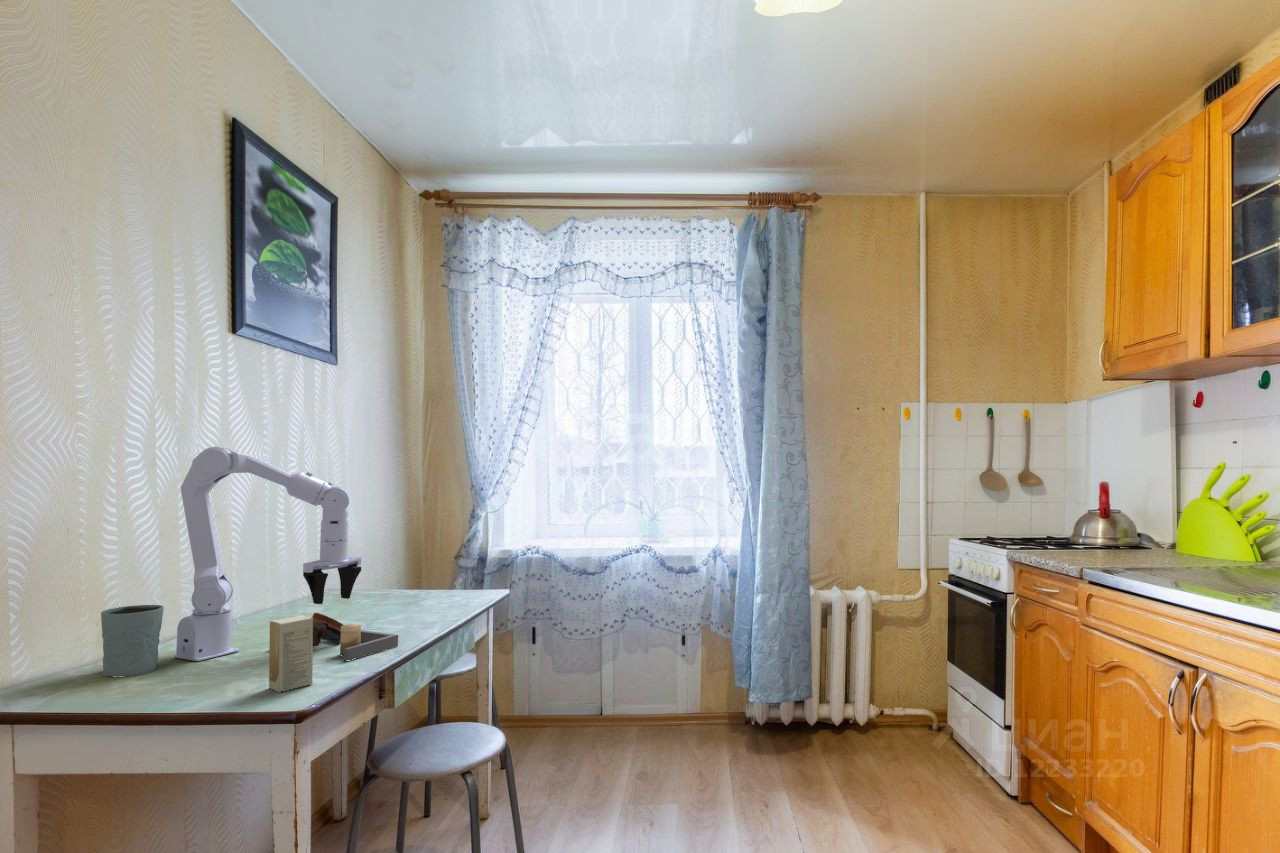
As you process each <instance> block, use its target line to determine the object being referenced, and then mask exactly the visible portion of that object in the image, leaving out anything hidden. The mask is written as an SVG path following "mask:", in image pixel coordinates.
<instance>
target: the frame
mask: <svg viewBox="0 0 1280 853" xmlns="http://www.w3.org/2000/svg"><path fill="white" fill-rule="evenodd" d="M330 638H332V639H331V640H337V639H339V635H337V634H334V633H332V631H328V630H326V632H325V633H324V635H323V637H322V638H321V640H323V639H330ZM361 642H364V643H361V644H359V645H355V646H352V647H348V648H345V649H344V657H343V661H344V660H352V659H354V658H358V657H361V656H364V655H368V654H371V653H374V654H376V653H375V652H378V653H380V652H379V651H381V652H384V651H387V650H390V649H389V648H391V649H393V648H392V647H394V648H396V646H397V647H399V634H393V633H386V632H381V631H380V632H377V631H372V630H371V631H370V630H364V629H363V630H362V629H361ZM386 649H387V650H386ZM383 650H384V651H383ZM371 655H372V654H371ZM368 656H369V655H368ZM361 658H362V657H361ZM358 659H359V658H358ZM352 661H353V660H352Z"/></svg>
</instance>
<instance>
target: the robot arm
mask: <svg viewBox="0 0 1280 853" xmlns="http://www.w3.org/2000/svg"><path fill="white" fill-rule="evenodd" d="M239 473H240V474H248V473H249V474H252V475H255V476H257V477H259V478H262V479H264V480H267V481H269V482H272V483H275V484H278V485H280V486H283V487H285V490H286V491H287V494H288V495H289V496H291V497H293V498H296V499H298V500H301V501H302V502H305V503H308V504H310V505H313V506H314V507H317V506H320V507H321V509H322V517H321V518H322V519H321V521H320V538H319V540H320V541H319V559H318V560H313V561H309V562H304V563H302V572H303V573H302V575H303V576H302V577H303V578H304V580H305V581H306V583H307V585H308V588H309V590H310V593H311V594H310V595H311V598H312V601H313V604H314V605H322V604H323V602H324V597H325V587H326V582H327V579H328V576H329V573H328V572H327V573H326V572H324V571H326V570H333V569H337V571H338V575H339V582H340V583H339V584H340V597H341V599H346V600H349V599H351V595H352V591H353V588H354V585H355V582H356V580H357V578H358V576H359V575H360V573H361V572H362V566H361V565H362V556H348V542H349V540H348V539H349V519H348V517H349V511H348V507H349V504H350V497H349V494H348V492H347V491H346V490H345V489H343V488H342V487H341V486H333V485H334V483H333V482H332V481H328V482H326V481H325V480H322V479H320V478H317V477H315V476H313V475H314V473H312V472H310V471H306V473H305V472H303V471H298V472H297V473H291V472H289V471H287V470H284V469H281V468H280V467H277V466H275V465H273V464H270V463H269V462H266V461H264V460H262V459H260V458H258V457H256V456H253V455H250V454H247V453H244V452H239V451H234V450H231V449H229V448H227V447H226V448H225V447H221V446H220V447H219V446H210V447H207V448H205V449H204V450H202V451H201V452H200V453H199V454H198V455H197V456H196V457H194V459H192V462H191V465H190V467H189V470H188V472H187V474H186V475H185V477H184V479H183V482H182V484H181V485H180V493H181V499H182V505H183V510H184V515H185V516H184V517H185V522H186V526H187V527H186V528H187V533H188V538H189V543H190V544H189V545H190V549H191V554H192V561H193V566H194V575H193V585H194V588H193V592H192V595H191V601H190V602H191V604H192V606H193V607H194V608H193V610H192V613H191V614H190V615H189V616H185V617H183V618H181V619H180V620H179V622H178V625H177V628H176V629H177V630H176V650H175V651H176V652H175V653H176V654H173V658H178V659H182V660H188V661H193V662H200V661H204V660H208V659H213V658H216V657H220V656H221V657H222V656H225V655H229V654H232V653H236V652H240V648H237V647H231V637H232V635H231V633H232V631H231V630H232V607H231V606H230V604H229V603H228V602H229V601H230V600H231V599H232V596H233V593H234V587H233V585H232V582H231V581H229V579H228V578H227V576H226V571H225V568H224V567H223V564H222V561H221V556H220V555H221V554H220V549H219V545H218V544H219V543H218V540H217V538H218V537H217V532H216V528H215V523H214V516H213V511H212V503H211V499H210V492H211V491H212V490H213V489H214V488H215V487H216V485H217V484H218V483H219V482H220V481H221V480H223V479H224V478H226V477H228V476H229V475H231V474H239Z"/></svg>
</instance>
